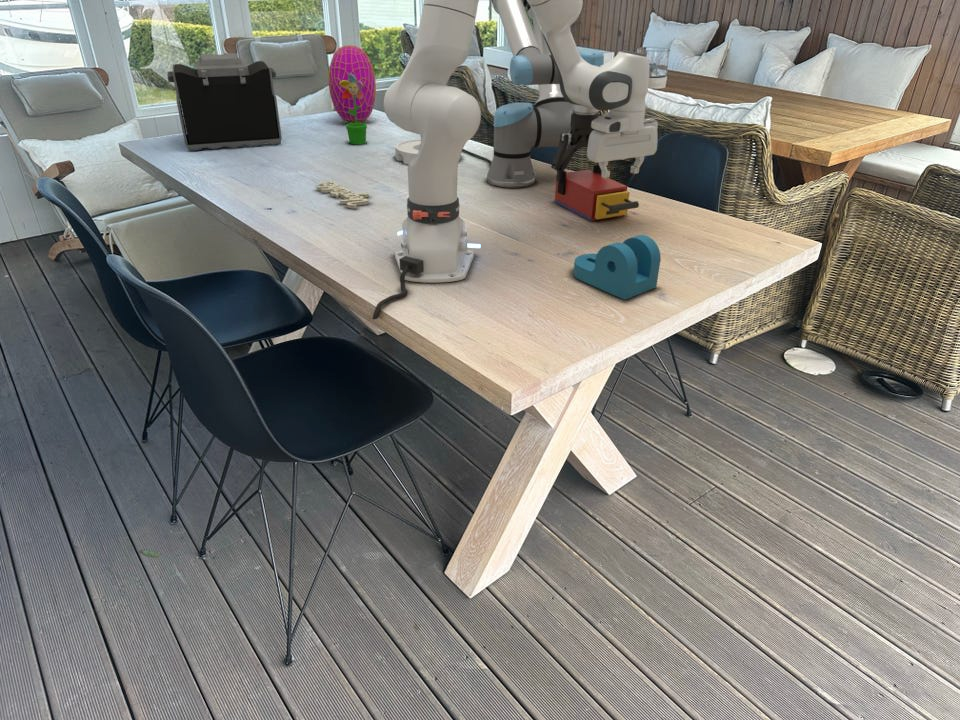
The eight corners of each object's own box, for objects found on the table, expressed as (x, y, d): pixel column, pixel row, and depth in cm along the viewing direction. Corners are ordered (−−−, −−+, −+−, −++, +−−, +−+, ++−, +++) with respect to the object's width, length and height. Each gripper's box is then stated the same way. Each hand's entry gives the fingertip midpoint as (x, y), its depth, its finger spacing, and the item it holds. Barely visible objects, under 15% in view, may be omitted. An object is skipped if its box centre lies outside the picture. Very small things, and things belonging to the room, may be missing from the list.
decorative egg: (362, 116, 305) (357, 42, 290) (386, 123, 292) (382, 46, 277) (324, 121, 294) (316, 45, 279) (347, 129, 281) (340, 49, 266)
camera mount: (656, 287, 150) (663, 241, 145) (624, 299, 144) (630, 252, 139) (595, 262, 162) (599, 219, 157) (563, 272, 156) (567, 228, 151)
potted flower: (342, 144, 260) (336, 73, 247) (351, 139, 266) (346, 70, 254) (365, 146, 257) (360, 74, 245) (374, 141, 264) (369, 71, 251)
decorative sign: (381, 199, 198) (351, 206, 193) (382, 203, 199) (351, 209, 193) (339, 178, 216) (309, 184, 211) (339, 182, 216) (310, 187, 211)
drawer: (638, 220, 186) (642, 197, 183) (608, 225, 182) (611, 202, 179) (590, 197, 203) (592, 176, 200) (562, 201, 199) (564, 180, 196)
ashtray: (454, 167, 232) (454, 155, 230) (388, 164, 235) (387, 152, 233) (466, 151, 252) (466, 140, 250) (404, 148, 255) (404, 137, 253)
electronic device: (279, 132, 275) (268, 51, 260) (286, 144, 258) (275, 58, 243) (181, 139, 264) (164, 54, 249) (182, 152, 246) (163, 62, 231)
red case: (624, 215, 192) (627, 186, 188) (591, 221, 188) (594, 191, 183) (585, 197, 206) (588, 169, 202) (554, 202, 202) (556, 173, 198)
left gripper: (650, 114, 180) (643, 167, 187) (586, 122, 172) (581, 177, 179) (666, 119, 175) (658, 173, 182) (601, 126, 167) (595, 183, 174)
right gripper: (611, 106, 196) (603, 182, 207) (541, 113, 186) (536, 192, 197) (628, 111, 190) (619, 189, 201) (556, 118, 181) (550, 199, 192)
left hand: (620, 175), depth 180 cm, fingers open, 8 cm apart
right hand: (578, 191), depth 199 cm, fingers closed on red case, 11 cm apart
